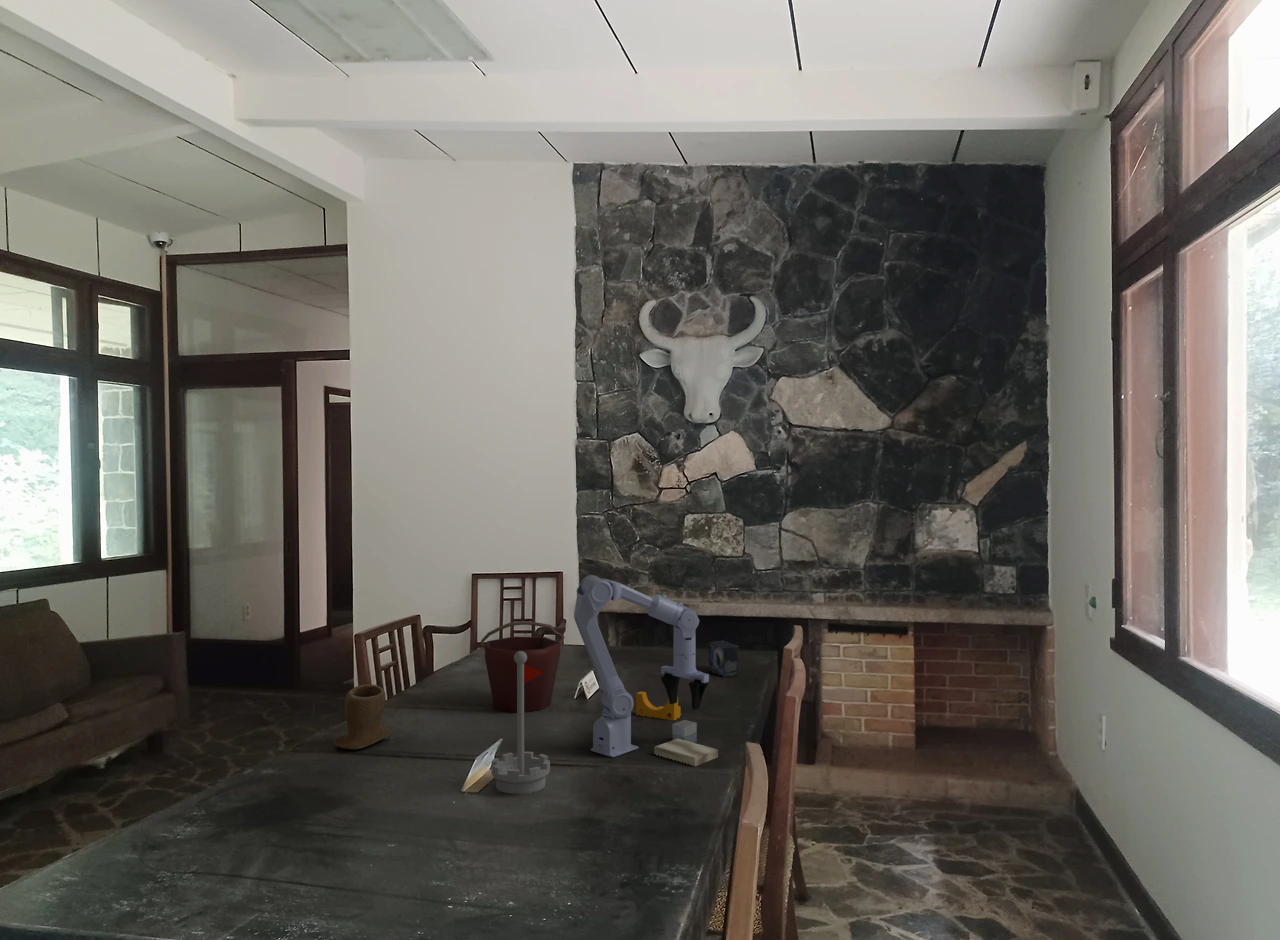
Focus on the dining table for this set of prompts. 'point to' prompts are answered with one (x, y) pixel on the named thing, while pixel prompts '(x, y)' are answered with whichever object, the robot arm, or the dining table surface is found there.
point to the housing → (685, 731)
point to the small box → (723, 658)
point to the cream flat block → (686, 752)
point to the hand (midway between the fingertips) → (684, 706)
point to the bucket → (539, 656)
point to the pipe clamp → (651, 711)
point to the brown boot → (363, 717)
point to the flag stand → (521, 747)
